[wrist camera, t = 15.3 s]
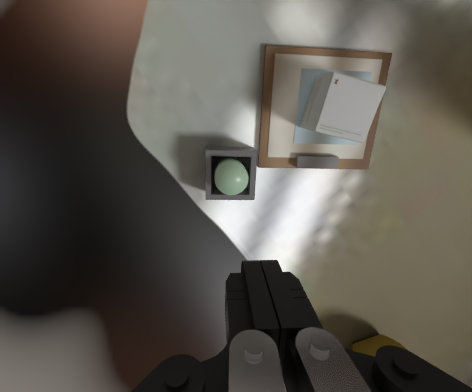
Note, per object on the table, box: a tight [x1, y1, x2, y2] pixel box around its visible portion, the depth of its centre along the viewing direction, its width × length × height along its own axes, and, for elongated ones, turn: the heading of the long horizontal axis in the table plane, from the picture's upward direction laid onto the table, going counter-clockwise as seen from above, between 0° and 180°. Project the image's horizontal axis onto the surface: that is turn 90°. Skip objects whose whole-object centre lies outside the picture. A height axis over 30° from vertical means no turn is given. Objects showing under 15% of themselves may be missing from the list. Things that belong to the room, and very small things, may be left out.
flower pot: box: [352, 335, 407, 356], centre depth 38 cm, size 9×9×9 cm
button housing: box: [205, 147, 257, 200], centre depth 29 cm, size 6×6×3 cm
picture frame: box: [258, 45, 392, 169], centre depth 29 cm, size 14×13×1 cm
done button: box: [215, 156, 248, 195], centre depth 28 cm, size 4×4×4 cm
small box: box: [300, 71, 386, 143], centre depth 26 cm, size 6×6×5 cm
